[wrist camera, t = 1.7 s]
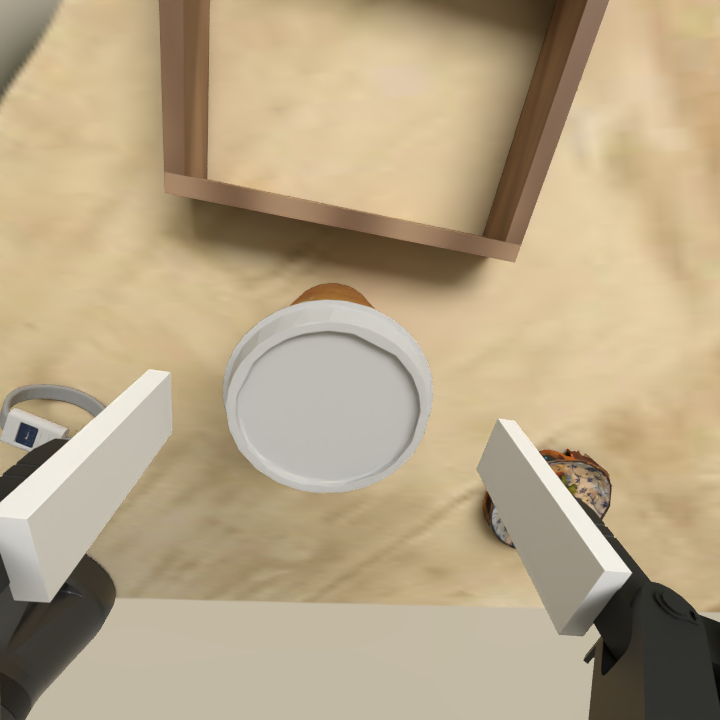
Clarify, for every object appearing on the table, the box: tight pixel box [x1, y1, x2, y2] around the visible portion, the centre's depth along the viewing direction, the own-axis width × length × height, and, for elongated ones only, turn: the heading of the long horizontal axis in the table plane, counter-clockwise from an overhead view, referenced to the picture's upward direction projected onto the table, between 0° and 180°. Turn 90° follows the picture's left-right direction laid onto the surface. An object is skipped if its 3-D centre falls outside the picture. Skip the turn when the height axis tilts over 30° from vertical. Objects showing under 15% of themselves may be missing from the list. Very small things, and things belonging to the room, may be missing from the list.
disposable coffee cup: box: [223, 283, 433, 493], centre depth 20 cm, size 10×10×12 cm
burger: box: [483, 449, 612, 549], centre depth 31 cm, size 12×12×8 cm
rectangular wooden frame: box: [159, 0, 609, 262], centre depth 18 cm, size 20×15×4 cm
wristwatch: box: [0, 384, 105, 452], centre depth 25 cm, size 6×3×5 cm, turn 57°
